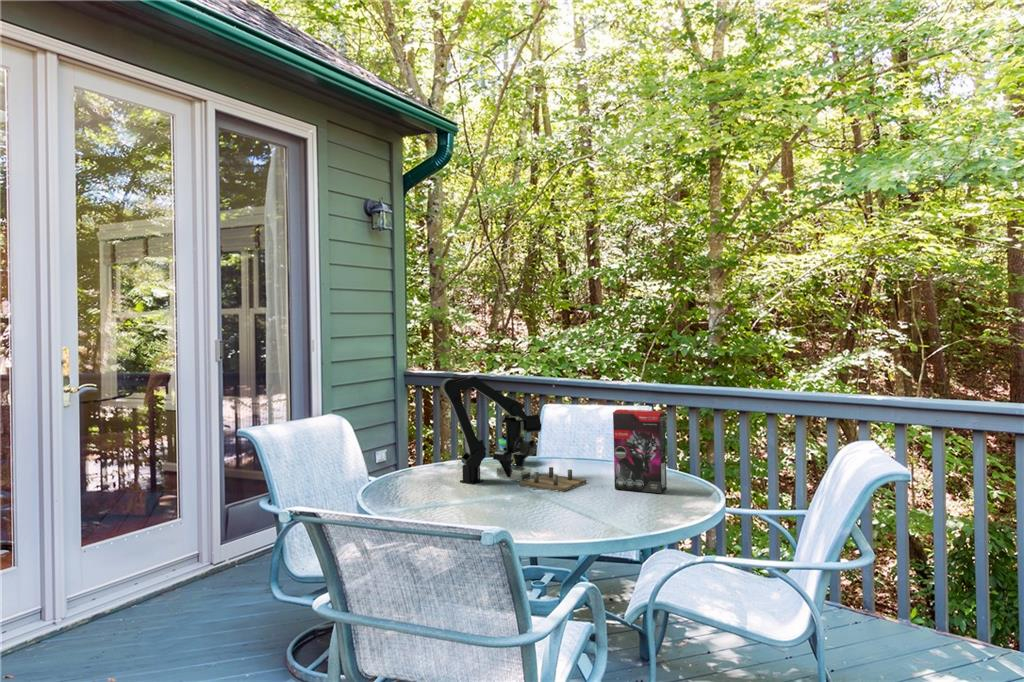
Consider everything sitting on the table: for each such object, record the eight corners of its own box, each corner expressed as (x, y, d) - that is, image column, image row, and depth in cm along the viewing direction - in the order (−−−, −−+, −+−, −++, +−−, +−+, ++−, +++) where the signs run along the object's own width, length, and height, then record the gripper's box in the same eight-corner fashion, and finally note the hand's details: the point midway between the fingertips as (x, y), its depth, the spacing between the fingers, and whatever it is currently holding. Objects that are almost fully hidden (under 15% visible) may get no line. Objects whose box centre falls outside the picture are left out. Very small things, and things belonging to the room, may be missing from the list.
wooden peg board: (563, 491, 244) (562, 478, 244) (520, 485, 255) (519, 472, 255) (586, 482, 257) (586, 469, 257) (544, 477, 268) (544, 464, 268)
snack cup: (532, 465, 289) (532, 440, 289) (509, 468, 284) (509, 443, 284) (514, 459, 303) (514, 435, 303) (492, 462, 298) (491, 437, 298)
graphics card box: (612, 490, 246) (611, 410, 245) (619, 485, 252) (618, 408, 251) (661, 494, 238) (660, 413, 237) (667, 490, 244) (666, 410, 243)
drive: (522, 481, 261) (522, 470, 261) (496, 478, 268) (496, 467, 268) (531, 478, 267) (531, 467, 267) (506, 475, 273) (506, 464, 273)
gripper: (516, 439, 255) (517, 482, 255) (545, 431, 270) (545, 473, 270) (491, 436, 261) (492, 479, 262) (520, 429, 276) (521, 469, 277)
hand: (514, 475), depth 267 cm, fingers closed on drive, 7 cm apart
